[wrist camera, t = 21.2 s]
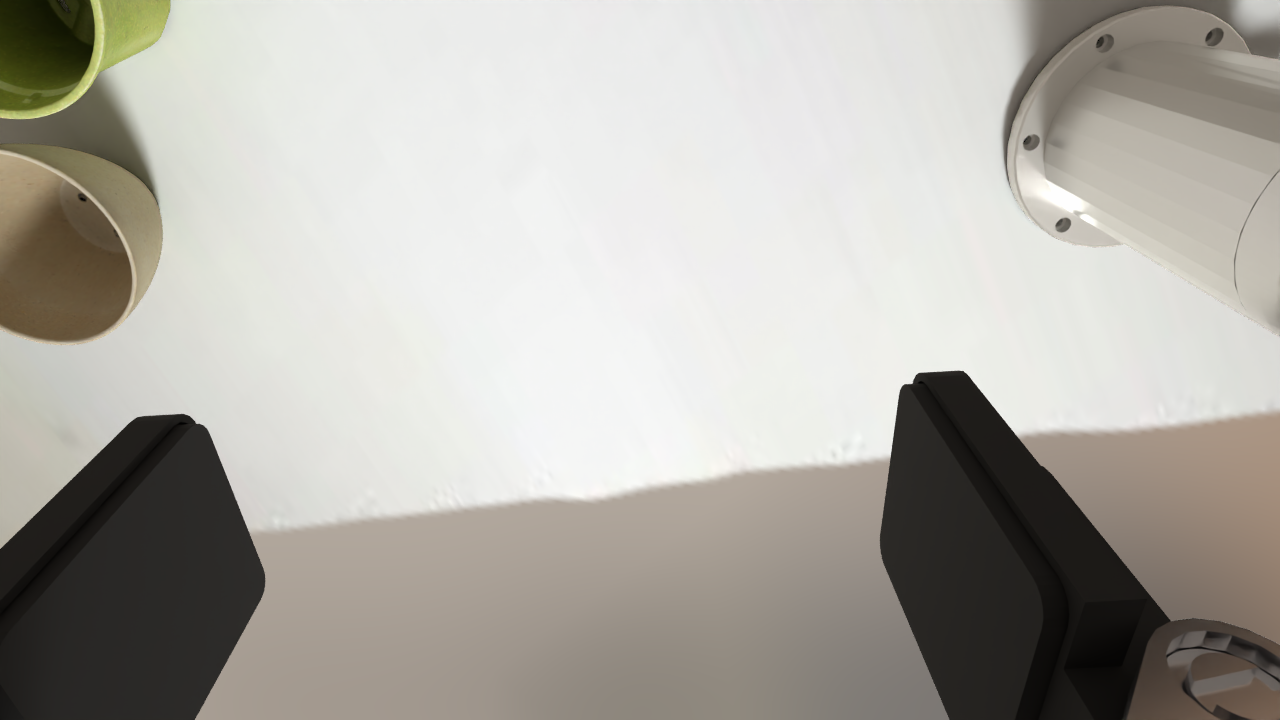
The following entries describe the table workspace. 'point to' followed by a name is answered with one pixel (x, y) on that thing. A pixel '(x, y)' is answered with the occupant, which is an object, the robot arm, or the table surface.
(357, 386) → the table surface
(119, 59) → the plant pot
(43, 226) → the flower pot
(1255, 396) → the table surface
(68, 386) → the table surface
